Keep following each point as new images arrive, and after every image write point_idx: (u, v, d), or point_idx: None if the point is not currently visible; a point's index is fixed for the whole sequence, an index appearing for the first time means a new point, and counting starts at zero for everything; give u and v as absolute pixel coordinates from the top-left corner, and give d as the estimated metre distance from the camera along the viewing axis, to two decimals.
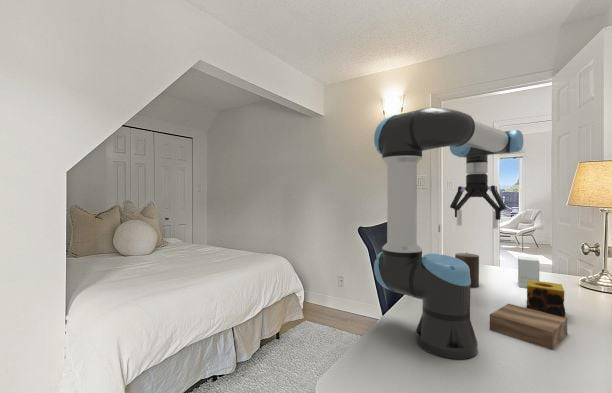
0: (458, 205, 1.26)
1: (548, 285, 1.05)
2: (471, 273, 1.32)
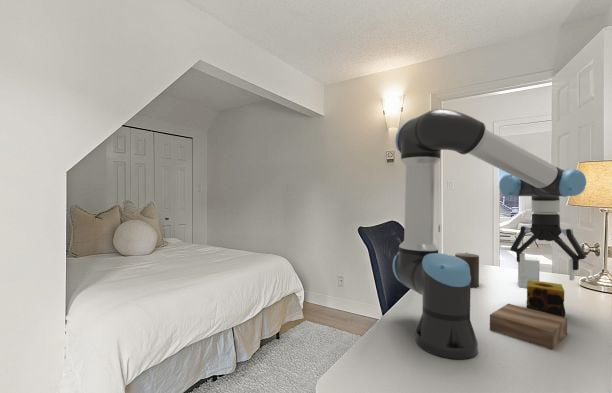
0: (521, 248, 1.08)
1: (548, 285, 1.05)
2: (471, 273, 1.32)
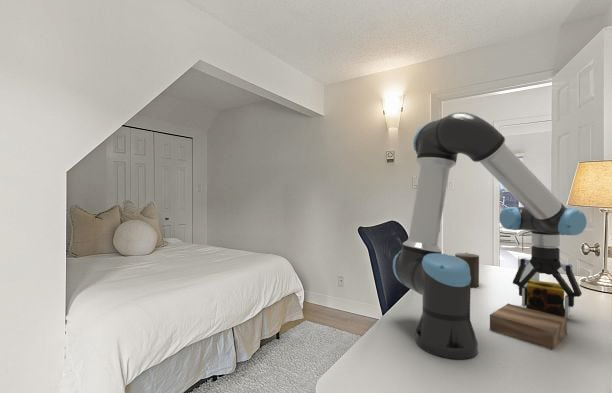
0: (523, 282, 1.07)
1: (548, 285, 1.05)
2: (471, 273, 1.32)
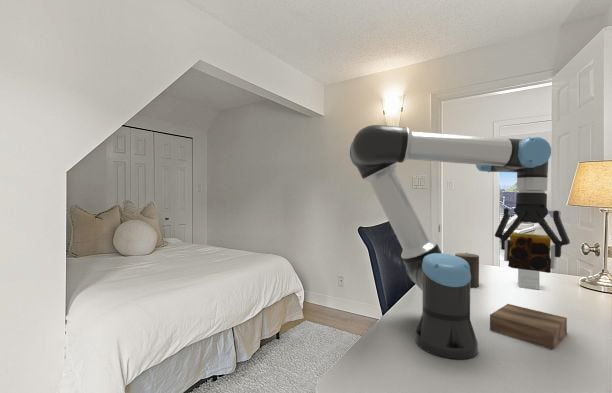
0: (506, 234, 0.96)
1: None
2: (471, 273, 1.32)
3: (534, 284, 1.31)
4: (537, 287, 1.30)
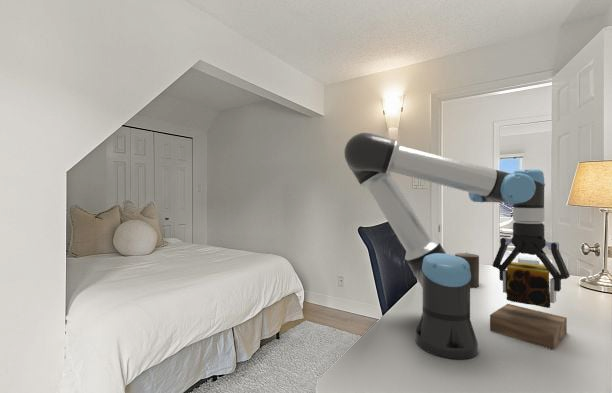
0: (504, 264, 0.93)
1: (532, 267, 0.91)
2: (471, 273, 1.32)
3: None
4: None
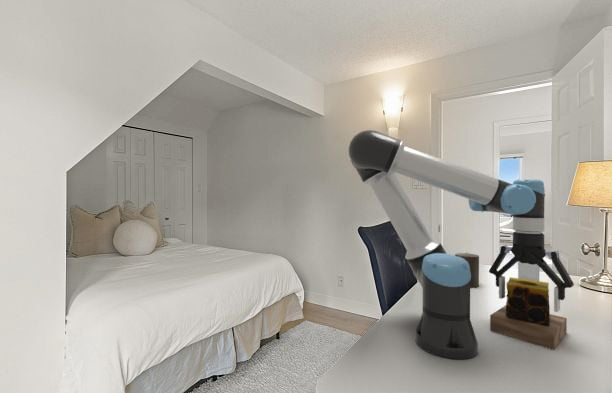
0: (501, 271, 0.94)
1: (532, 283, 0.91)
2: (471, 273, 1.32)
3: None
4: None
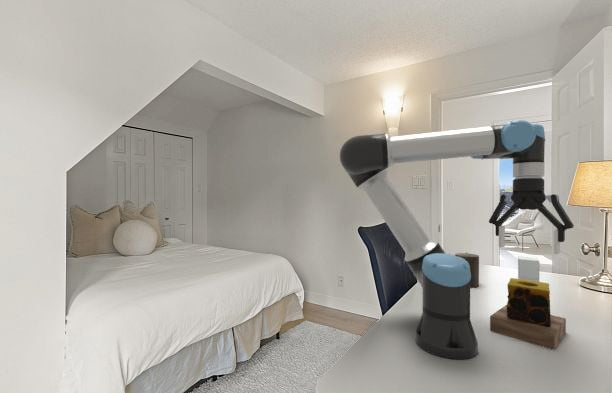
0: (501, 220, 0.94)
1: (533, 284, 0.90)
2: (471, 273, 1.32)
3: None
4: None
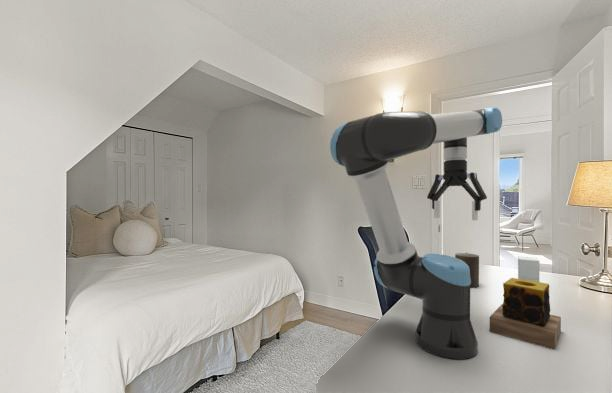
0: (435, 195, 1.14)
1: (532, 284, 0.91)
2: (471, 273, 1.32)
3: None
4: None
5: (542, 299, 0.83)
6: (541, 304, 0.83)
